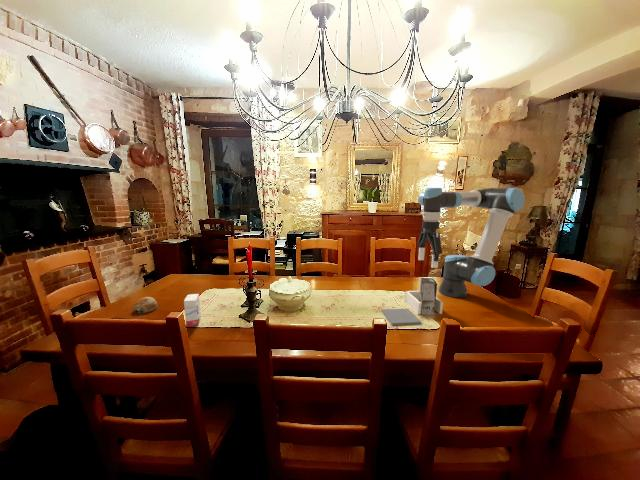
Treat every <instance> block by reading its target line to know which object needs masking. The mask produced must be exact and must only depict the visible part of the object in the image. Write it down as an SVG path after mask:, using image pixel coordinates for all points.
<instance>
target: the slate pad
mask: <svg viewBox="0 0 640 480" xmlns="http://www.w3.org/2000/svg"><path fill="white" fill-rule="evenodd" d="M381 313H382V315H384V317H385V318H386V320H387V322H388V323H389V324H390V323H391V324H390V325H391V326H403V325H402V324H409V325H421V324H422V321H421V320H420V319H419V318H418V317H417V316H416V315H415V314H414V313H413V312H412V311H411V310H410V308H389V309H387V308H386V309H381ZM420 323H421V324H420Z"/></svg>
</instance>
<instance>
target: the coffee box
mask: <svg viewBox="0 0 640 480" xmlns="http://www.w3.org/2000/svg"><path fill="white" fill-rule="evenodd" d="M419 282H420V283H419V291H420V292H419V302H421V313H420V315H421V314H422V315H429V316H434V315H435V311H436V310H435V302H436V298H437V291H438V283H437V281H436V280H435V279H434V278H431V277H420V281H419Z"/></svg>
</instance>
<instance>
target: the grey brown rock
mask: <svg viewBox="0 0 640 480" xmlns="http://www.w3.org/2000/svg"><path fill="white" fill-rule="evenodd" d="M158 307H159V305H158V302H157V300H156V299H155V298H154V297H151V296H145V297H141V298H140V299H138V300H137V301H136V302H135V303H134V305H133V307H132V308H133V312H134V313H136V314H146V313H150V312H152V311H154V310H157V309H158Z"/></svg>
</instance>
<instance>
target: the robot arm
mask: <svg viewBox="0 0 640 480" xmlns="http://www.w3.org/2000/svg"><path fill="white" fill-rule="evenodd" d="M525 200H526V199H525V194H524V192H523V191H522V190H521V189H520V188H517V187H491V188H490V187H489V188H483V189H473V190H472V189H471V190H470V191H443V188H442V187H426V188H425V190H424V191H423V192H421V193H420V194H419V195H418V198H417V201H418V203H419V204H418V205H420V206H423V209H422V210H423V212H422V223H421V229H420V234H419V237H418V241H417V243H416V245H417V246H418V261H424V260H425V252H426V245H427V242H429V243H430V245H431V250H432V253H431V265H430V266H431V268H432V269H438V267H439V260H440V259H439V257H440V255H442V254H443V248H442V242H441V233H440V232H437V230H439V229H440V221H441V219H440V218H441V209H443V208H444V209H450V208H451V209H454V208H458V207H460V206H469V207H472V208H481V209H488V212H489V213H490V214H489V216H488V219H487V221H486V224H485V226H484V229H483V232H482V234H481V236H480V238H479V242H478V243H477V246H476V249H475V251H474V253H473V254H471V255H470V256H468V255H465V254H464V255H463V254H450V255H449V254H448V255H446V256H445V258H444V263H443V264H444V265H443V266H444V267H443V276H442V277H443V278H442V281H441V283H440V284H439V287H438V292H439V293H440V294H441V295H443V296H446V297H451V298H460V299H461V298H466V297H467V295H468V289H467V286H466V282H467V283H470V284H473V285H475V286H476V285H477V286H480V287H484V286H487V285H489V284H490V283H492V281H493V280H494V279H495V277H496V269H495V268H494V262H493V258H494V255H495V253H496V251H497V247H498V245H499V243H500V240H501V239H502V237H503V233H504V231H505V228H506V226H507V224H508V221H509V219H510V218H513V217H514V216H515V213H516V212H519V211H521V210H522V209H523V208H524V206H525Z"/></svg>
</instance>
